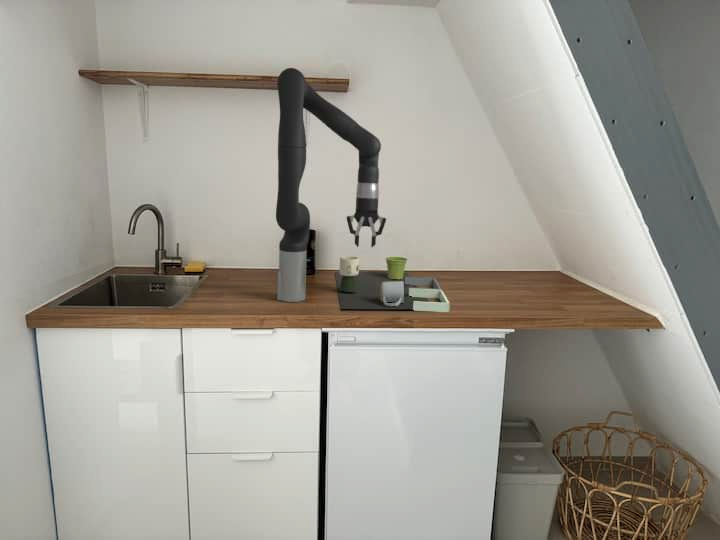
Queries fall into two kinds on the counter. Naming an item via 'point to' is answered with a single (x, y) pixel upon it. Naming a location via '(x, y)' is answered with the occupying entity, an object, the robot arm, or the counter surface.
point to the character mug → (349, 273)
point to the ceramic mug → (392, 293)
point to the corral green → (429, 305)
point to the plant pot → (395, 267)
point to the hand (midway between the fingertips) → (365, 246)
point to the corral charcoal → (422, 282)
